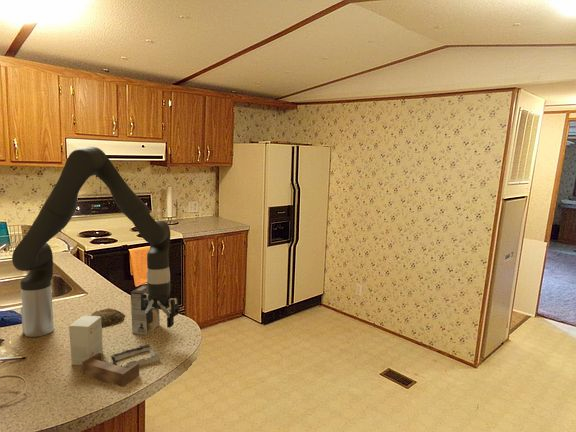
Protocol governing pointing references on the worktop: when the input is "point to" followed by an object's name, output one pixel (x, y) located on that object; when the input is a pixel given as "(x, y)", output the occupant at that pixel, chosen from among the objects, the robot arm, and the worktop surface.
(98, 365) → the walnut arch
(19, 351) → the worktop surface
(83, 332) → the small box
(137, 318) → the coffee box
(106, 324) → the bread roll
